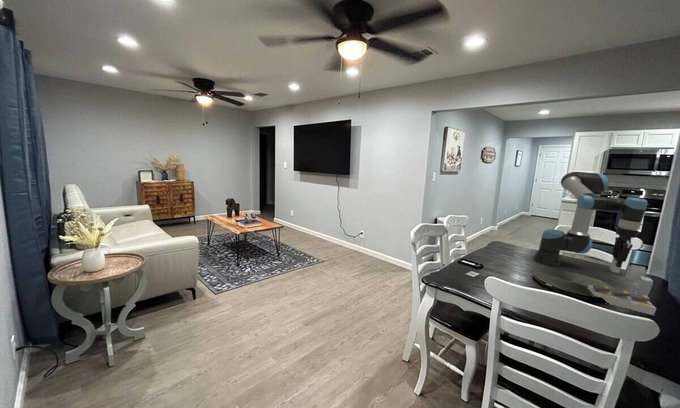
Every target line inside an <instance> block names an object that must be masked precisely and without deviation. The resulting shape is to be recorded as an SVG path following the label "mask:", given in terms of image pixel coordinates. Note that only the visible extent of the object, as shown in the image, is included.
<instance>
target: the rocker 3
mask: <svg viewBox="0 0 680 408" xmlns="http://www.w3.org/2000/svg"><path fill="white" fill-rule="evenodd" d="M629 294H630V297H631V298H632V299H633V300H640V301H648V302H650V303H651V298H650V297H649V295H648V296H646V295H637V294H634V293H629Z"/></svg>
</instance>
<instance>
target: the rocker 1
mask: <svg viewBox="0 0 680 408" xmlns="http://www.w3.org/2000/svg"><path fill="white" fill-rule="evenodd" d="M592 286H593V288H594V289H595V290H596V291H604V292H610V291H611V289H610V287H609V286H608V285H607V286H606V285H598V284H597V285H596V284H593V285H592Z"/></svg>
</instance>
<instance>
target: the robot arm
mask: <svg viewBox="0 0 680 408" xmlns="http://www.w3.org/2000/svg"><path fill="white" fill-rule="evenodd" d="M560 185H561V187H562V188H563V189H564V190H567V191H568V192H570V193H571V195H573V197H575V198H576V199H577V200H576V209H575V212H574V216H573V218H572V224H571V228H570V229H568V230H567V232H566V233H565V231H563V230H558V229H545V230H544V231H543V232H542V234H541V239H540V243H539V248H538V250H537V251H536V252H535V254H534V256H533V260H534V261H535V262H537V263H539V264H542V265H544V266H549V267H550V266H551V267H559V266H560V265H561V258H560V252H561V251H565V252H571V253H575V254H582V255H583V254H587V253H588V252H589V251H591V249H592V247H593V238H592V237H591V235H590V234H589V230H590V225H591V221H592V216H593V213H594V211H600V212H609V213H616V214H617V213H618V214H620V217H619V219H618V223H617V226H618V227H617V228H616V230H615V234H616V235H618V237H616V236H615V240H614V244H613V250H612V254H611V256H612V257H613V258H612V260H611V264H610V267H609V270H610V271H611V272H613V273H617V274H620V273H621V270H622V269H621V268H622V266H623V263H624V262H625V263H626V261H627V260H628V256H629V255H630V252H631V249H632V248H633V243H632V239H634V238H636V239H637V237H638V233H639V230H640V227H641V226H642V225H643V224H642V221H643V219H644V216H645V214H646V213H645V212H646V210H647V207H648V200H647V199H643V198H637V197H627V198H626V199H624V198H619V197H608V196H607V197H606V196H601V195H602V193H605V192H607V190H608V189H609V188H608V187H609V179H608V177H607V176H606V175H605V174H602V173H598V172H597V173H596V172H595V173H594V172H584V171H571V172H568V173H566V174H565V175H564V176H563V177H562V178H561V180H560Z"/></svg>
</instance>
